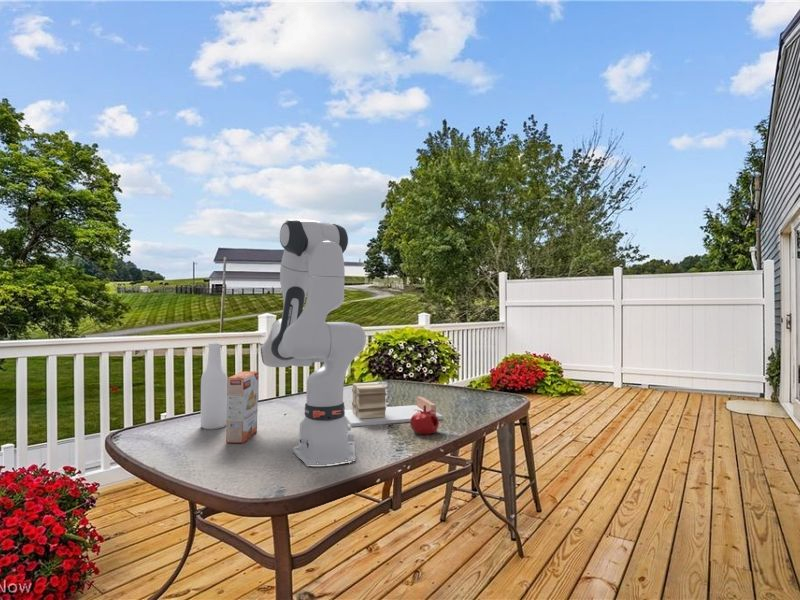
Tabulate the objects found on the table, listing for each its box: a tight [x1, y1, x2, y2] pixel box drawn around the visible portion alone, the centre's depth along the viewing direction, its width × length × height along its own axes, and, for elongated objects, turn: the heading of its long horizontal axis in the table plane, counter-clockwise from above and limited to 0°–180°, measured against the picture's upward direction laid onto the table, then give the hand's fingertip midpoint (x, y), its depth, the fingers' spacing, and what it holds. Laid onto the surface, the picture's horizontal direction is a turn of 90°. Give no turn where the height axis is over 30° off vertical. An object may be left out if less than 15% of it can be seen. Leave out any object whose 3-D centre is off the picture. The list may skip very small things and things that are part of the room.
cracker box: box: [225, 371, 259, 444], centre depth 152 cm, size 14×6×21 cm, turn 179°
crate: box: [351, 381, 387, 419], centre depth 177 cm, size 12×10×11 cm
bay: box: [344, 395, 444, 427], centre depth 180 cm, size 20×36×5 cm, turn 108°
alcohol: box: [200, 341, 228, 430], centre depth 164 cm, size 9×9×30 cm
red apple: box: [409, 405, 440, 435], centre depth 159 cm, size 10×10×9 cm
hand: (343, 353), depth 174 cm, fingers closed
